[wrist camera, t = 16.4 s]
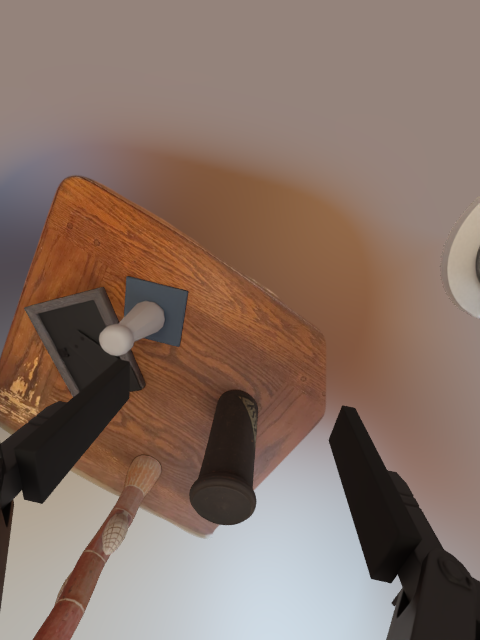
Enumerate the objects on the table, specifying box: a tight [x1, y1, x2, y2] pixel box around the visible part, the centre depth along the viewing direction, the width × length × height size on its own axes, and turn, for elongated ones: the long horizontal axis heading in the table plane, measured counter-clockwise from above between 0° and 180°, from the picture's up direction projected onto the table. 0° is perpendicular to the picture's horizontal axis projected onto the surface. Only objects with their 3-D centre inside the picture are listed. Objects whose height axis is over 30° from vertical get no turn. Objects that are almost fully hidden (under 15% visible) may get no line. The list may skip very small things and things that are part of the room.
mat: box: [124, 276, 188, 347], centre depth 45 cm, size 11×11×1 cm
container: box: [189, 390, 258, 525], centre depth 41 cm, size 9×9×20 cm
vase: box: [33, 455, 161, 640], centre depth 45 cm, size 10×7×30 cm
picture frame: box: [24, 287, 146, 397], centre depth 48 cm, size 16×2×21 cm
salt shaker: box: [99, 301, 165, 356], centre depth 38 cm, size 6×6×13 cm
